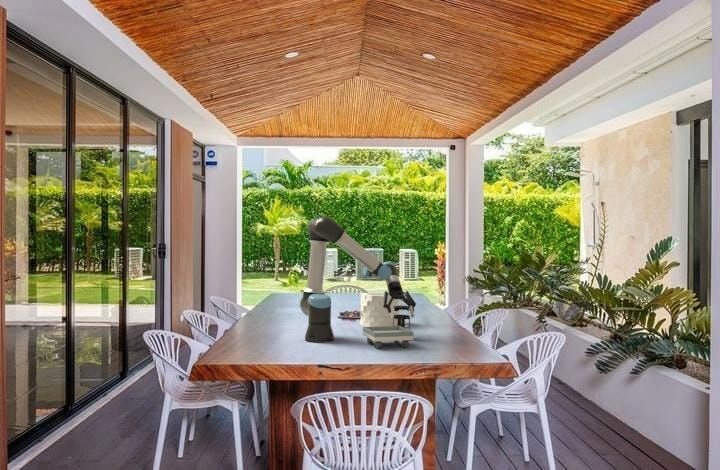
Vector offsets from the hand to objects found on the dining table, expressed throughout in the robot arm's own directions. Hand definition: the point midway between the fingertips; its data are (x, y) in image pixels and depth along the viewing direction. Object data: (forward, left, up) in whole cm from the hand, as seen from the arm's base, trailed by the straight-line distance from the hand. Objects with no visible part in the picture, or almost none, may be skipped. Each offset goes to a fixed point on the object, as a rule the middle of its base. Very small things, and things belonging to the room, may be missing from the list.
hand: (403, 316), depth 325 cm
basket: (+3, +52, -12) cm, 53 cm away
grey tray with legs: (-14, -16, -12) cm, 24 cm away
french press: (0, +3, -12) cm, 12 cm away
